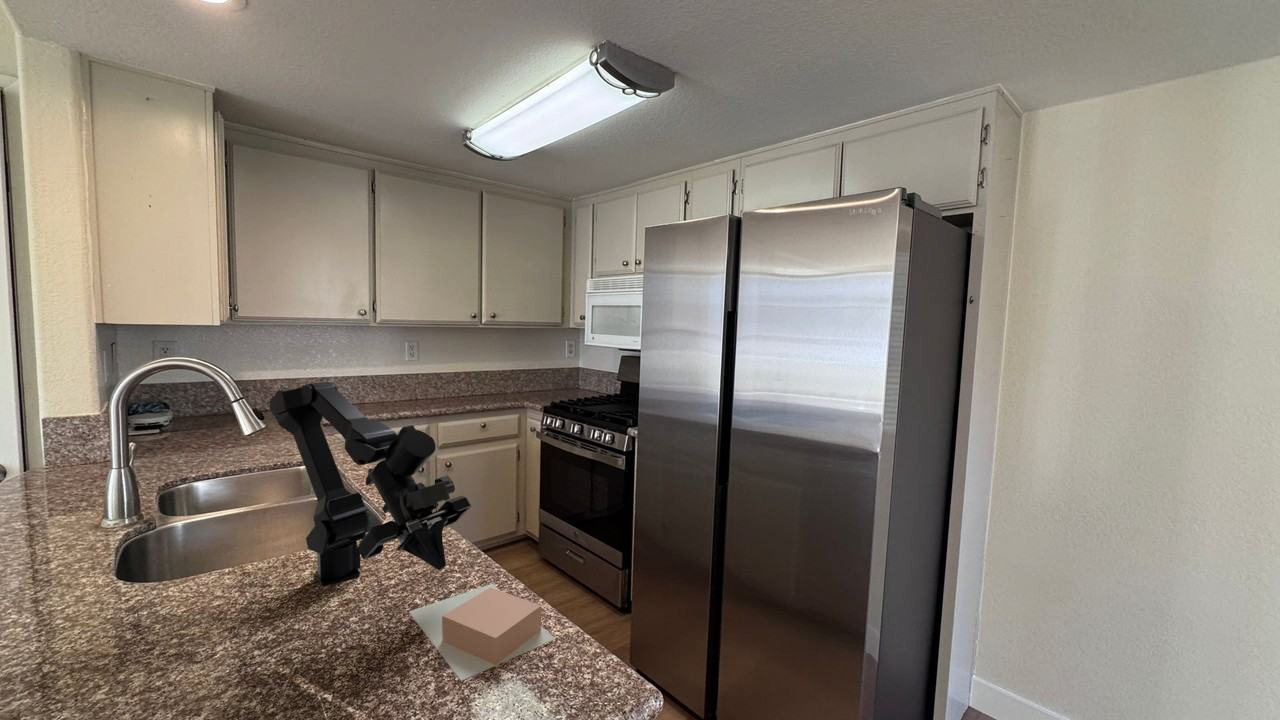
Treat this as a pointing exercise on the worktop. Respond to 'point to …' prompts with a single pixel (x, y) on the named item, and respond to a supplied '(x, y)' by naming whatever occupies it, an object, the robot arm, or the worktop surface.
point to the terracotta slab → (491, 625)
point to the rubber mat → (455, 657)
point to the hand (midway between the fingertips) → (442, 568)
